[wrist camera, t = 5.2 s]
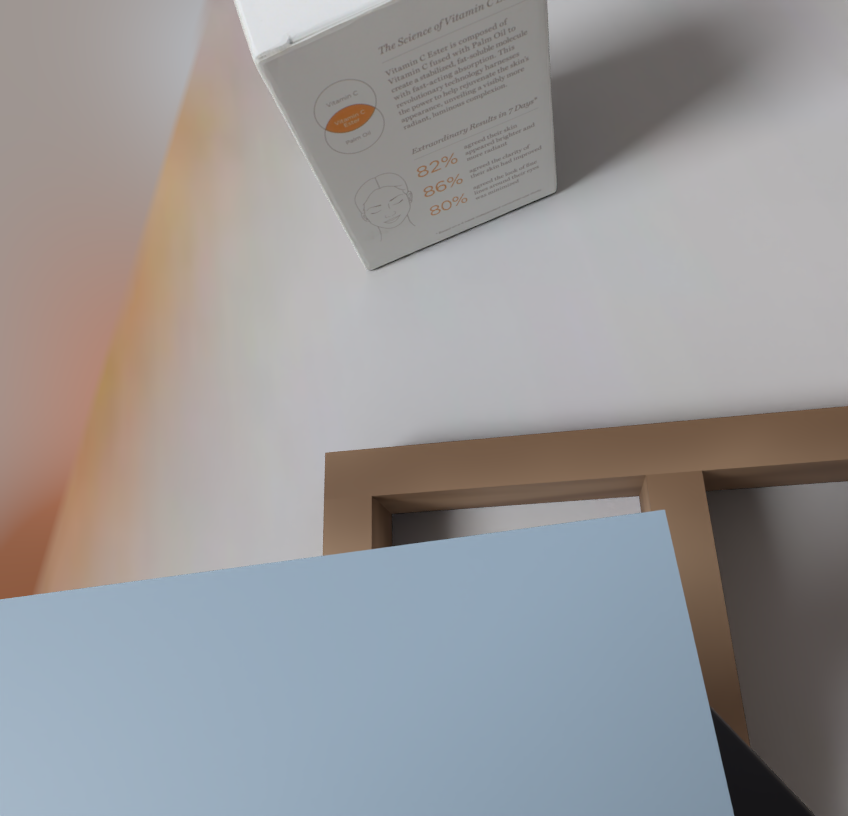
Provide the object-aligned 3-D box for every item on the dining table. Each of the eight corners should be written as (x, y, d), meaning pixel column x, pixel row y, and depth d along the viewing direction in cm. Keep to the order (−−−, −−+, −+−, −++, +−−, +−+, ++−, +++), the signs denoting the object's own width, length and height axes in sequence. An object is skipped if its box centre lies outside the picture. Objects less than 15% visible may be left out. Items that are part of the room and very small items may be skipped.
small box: (506, 95, 29) (471, -195, 19) (560, 196, 27) (551, -75, 17) (326, 171, 30) (205, -76, 20) (364, 277, 27) (249, 57, 18)
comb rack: (1255, 1093, 15) (1375, 1166, 13) (342, 1036, 19) (309, 1085, 17) (1018, 418, 21) (1072, 386, 19) (348, 474, 24) (325, 452, 22)
